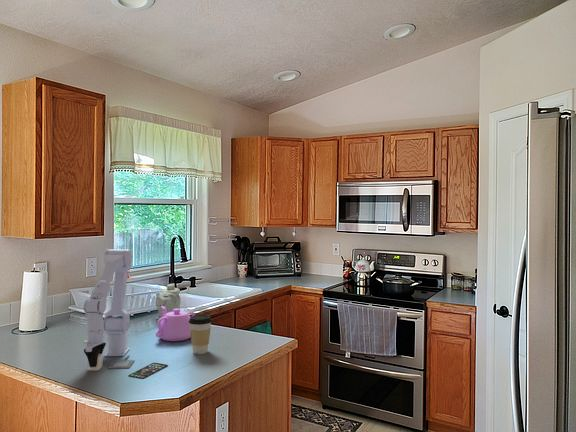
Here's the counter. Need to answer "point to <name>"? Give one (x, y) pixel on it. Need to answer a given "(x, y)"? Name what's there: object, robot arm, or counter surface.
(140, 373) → the smartphone
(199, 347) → the coffee cup
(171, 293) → the teapot
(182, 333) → the teapot
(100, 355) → the block
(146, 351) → the counter surface
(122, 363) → the mat
